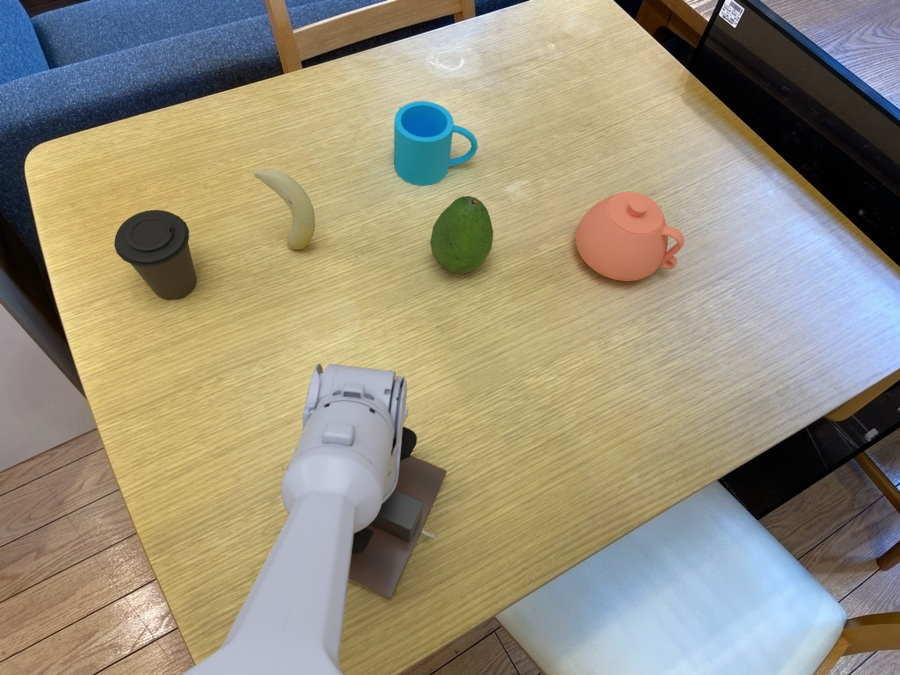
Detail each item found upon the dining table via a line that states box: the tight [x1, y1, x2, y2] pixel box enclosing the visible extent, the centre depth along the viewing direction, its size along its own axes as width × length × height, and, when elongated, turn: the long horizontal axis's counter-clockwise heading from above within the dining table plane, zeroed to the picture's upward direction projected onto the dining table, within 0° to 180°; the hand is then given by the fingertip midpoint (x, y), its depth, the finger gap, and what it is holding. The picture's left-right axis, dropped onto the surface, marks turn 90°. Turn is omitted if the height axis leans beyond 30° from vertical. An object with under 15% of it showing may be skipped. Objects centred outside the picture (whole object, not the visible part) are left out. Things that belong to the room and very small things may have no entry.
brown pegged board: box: [348, 454, 448, 602], centre depth 66 cm, size 15×15×2 cm
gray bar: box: [370, 489, 424, 542], centre depth 62 cm, size 11×3×5 cm, turn 67°
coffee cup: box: [113, 209, 198, 301], centre depth 75 cm, size 8×8×10 cm
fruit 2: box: [429, 195, 494, 274], centre depth 79 cm, size 8×8×12 cm
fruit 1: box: [254, 169, 316, 250], centre depth 78 cm, size 6×12×3 cm
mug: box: [393, 100, 479, 186], centre depth 90 cm, size 12×8×8 cm
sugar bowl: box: [574, 191, 685, 282], centre depth 83 cm, size 12×14×10 cm
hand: (366, 501), depth 63 cm, fingers open, 7 cm apart
